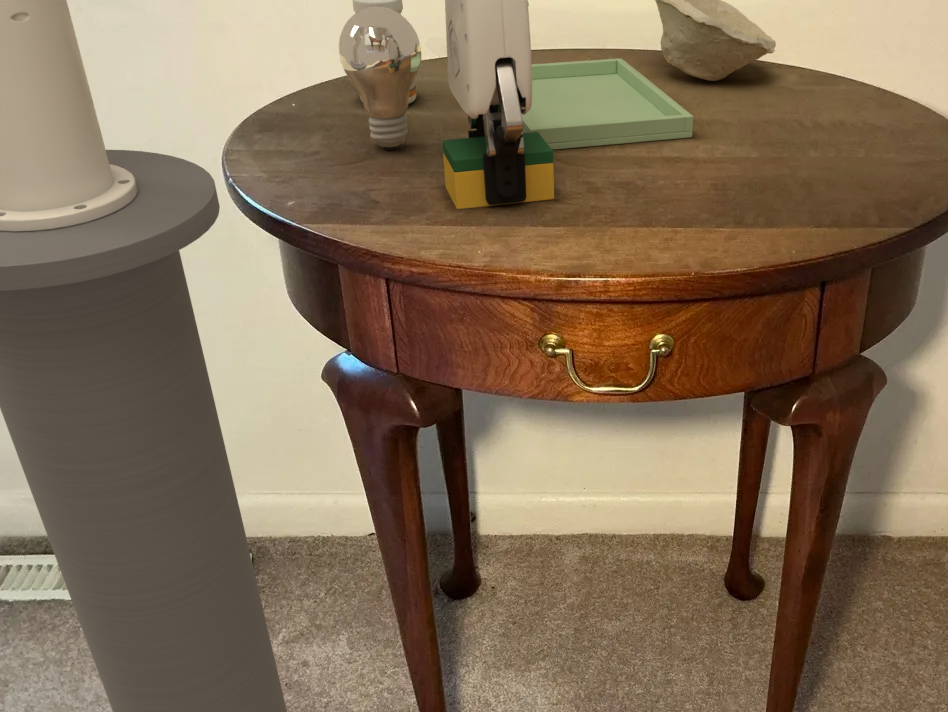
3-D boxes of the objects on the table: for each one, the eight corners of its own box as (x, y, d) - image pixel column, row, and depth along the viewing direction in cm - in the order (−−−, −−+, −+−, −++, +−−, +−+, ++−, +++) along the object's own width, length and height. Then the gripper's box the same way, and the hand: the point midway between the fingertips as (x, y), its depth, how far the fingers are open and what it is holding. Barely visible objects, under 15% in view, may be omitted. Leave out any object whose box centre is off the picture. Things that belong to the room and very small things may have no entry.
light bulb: (445, 145, 96) (434, 5, 89) (392, 167, 91) (377, 20, 84) (388, 132, 99) (374, -5, 92) (334, 151, 94) (315, 9, 87)
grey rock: (781, 98, 110) (792, -5, 104) (647, 96, 109) (650, -7, 104) (763, 61, 122) (772, -33, 116) (643, 59, 122) (646, -35, 116)
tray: (530, 151, 95) (530, 129, 94) (481, 86, 112) (480, 67, 110) (692, 137, 99) (693, 116, 97) (621, 76, 116) (621, 58, 114)
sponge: (456, 209, 83) (453, 160, 81) (445, 187, 87) (441, 140, 85) (554, 199, 85) (553, 150, 83) (539, 178, 89) (537, 131, 87)
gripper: (414, -71, 81) (434, 160, 92) (455, -31, 68) (473, 234, 78) (509, -75, 83) (518, 152, 94) (567, -36, 70) (570, 223, 80)
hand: (498, 187), depth 86 cm, fingers closed on sponge, 5 cm apart
